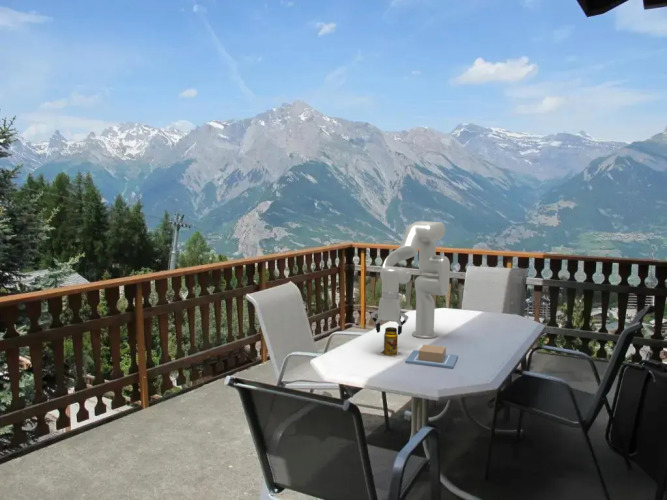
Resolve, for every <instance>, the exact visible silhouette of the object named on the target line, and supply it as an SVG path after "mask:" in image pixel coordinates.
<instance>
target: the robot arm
mask: <svg viewBox="0 0 667 500" xmlns="http://www.w3.org/2000/svg"><path fill="white" fill-rule="evenodd" d="M404 232H405V233H404V235H403V238H402V240H401V242H400V245H399V247H398V248H396V249H395V250H393V251H392V252H390V254H388V255H387V256H386V258H385V259H384V261H383V263H382V266H381V269H380V272H379V274H380V275H379V277H380V279H381V297H380V298H379V302H378V309H377V310H375V311H374V312H373V311H372V312H371V313H370V317H371V318H372V320H373V322H374V323H375V331H376V333H377V334H379V333H380V332H381V323H380V322H381V321H384V322H396V323H397V324H398V326H397V335H398V336H400V335H401V334H402V333H403V325H404V324H405V323H407V321H408V319H409V316H408V315H407V314H405V313H403V312H402V303H401V299H400V298H402V296H403V294H401V293H400V292H399V291H400V289H399V288H400V287H399V286H400V284H401V285H402V284H403V285H404V284H408V283H409V282H410V281H411V278H412V272H411V270H410V269H409V268H407V267H401V266H395V265H397V264H398V263H400V262H403V261H405V260H409V259H410V258H413V257H415V256H416V255H417V252H418V269H419V271H420V272H421V273H426V274H435V275H426V274H423V275H419V276H417V277H416V278H415V280H414V290H415V297H416V298H415V303H416V304H415V331H412V333H411V334H412V336H413V337H415V338H420V339H434V338H436V337H437V335H438V334H437V333H436V332H435V309H436V307H435V306H436V304H435V303H436V302H435V300H434V298H433V296H446V295H447V294H448V293H449V290H450V271H451V262H450V260H449V258H448V257H447V256H445V255H438V254H437V253H436V252H437V251H436V249H437V247H436V243H435V242H436V241H439V240H441V239H443V238H444V236H445V234H446V227H445V224H444V223H443V222H441V221H419V220H418V221H415V222H413V223H412V224H410V225H408V226H407V227H406V229H405V231H404ZM436 275H438V276H436ZM432 295H433V296H432ZM376 315H377V317H376ZM402 318H403V320H402Z"/></svg>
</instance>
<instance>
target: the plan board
mask: <svg viewBox="0 0 667 500" xmlns="http://www.w3.org/2000/svg"><path fill="white" fill-rule="evenodd" d="M446 351H447V347H446V346H441V345H440V346H439V345H432V344H431V345H430V344H423V345H422V346H421V347H420V349H419V350H416V349H413V350H412V352H411V353H410V354H409V355H408V357H407V358H406V359H405V361H404V363H405V364H410V365H418V366H426V367H427V366H428V367H434V368H443V369H450V368H452V369H454V367H455V365H456V363H457V360H458V358H459V354H452V353H446ZM455 362H456V363H455ZM452 369H451V370H452Z"/></svg>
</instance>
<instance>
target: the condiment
mask: <svg viewBox="0 0 667 500" xmlns="http://www.w3.org/2000/svg"><path fill="white" fill-rule="evenodd" d="M384 329H385V330H384V335H383V350H382V351H379V352H378V353H377V355H382V356H386V357H392V358H395V357H396V356H398V355H400V354H401V353H400V352H398V337H399V335H398V328H396V327H392V326H388V327H386V328H384Z"/></svg>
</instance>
